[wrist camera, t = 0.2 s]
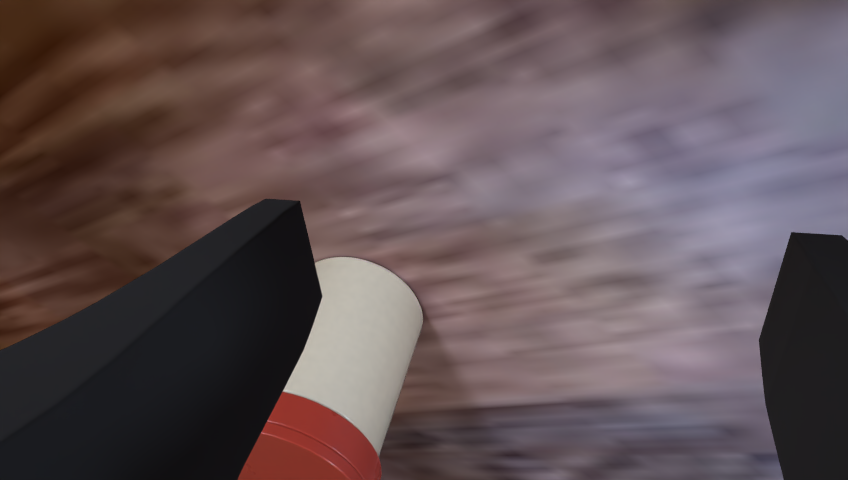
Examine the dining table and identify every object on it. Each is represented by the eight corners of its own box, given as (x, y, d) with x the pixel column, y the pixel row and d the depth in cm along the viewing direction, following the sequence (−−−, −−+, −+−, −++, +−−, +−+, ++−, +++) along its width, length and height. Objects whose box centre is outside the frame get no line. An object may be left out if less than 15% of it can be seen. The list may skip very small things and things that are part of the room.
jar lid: (404, 508, 22) (392, 552, 21) (256, 498, 24) (237, 537, 23) (346, 388, 19) (327, 432, 17) (179, 388, 21) (153, 427, 19)
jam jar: (438, 353, 27) (385, 530, 21) (323, 355, 28) (245, 519, 23) (401, 251, 24) (328, 423, 18) (276, 260, 26) (174, 420, 20)
